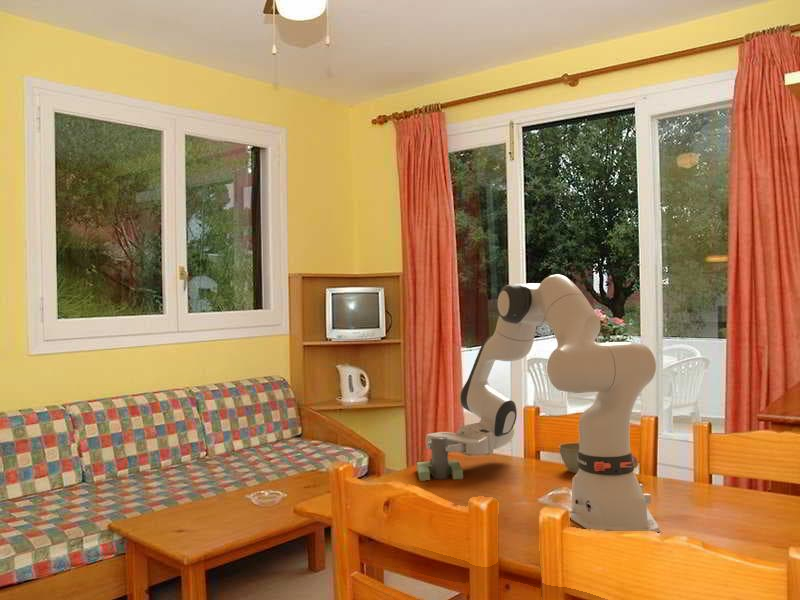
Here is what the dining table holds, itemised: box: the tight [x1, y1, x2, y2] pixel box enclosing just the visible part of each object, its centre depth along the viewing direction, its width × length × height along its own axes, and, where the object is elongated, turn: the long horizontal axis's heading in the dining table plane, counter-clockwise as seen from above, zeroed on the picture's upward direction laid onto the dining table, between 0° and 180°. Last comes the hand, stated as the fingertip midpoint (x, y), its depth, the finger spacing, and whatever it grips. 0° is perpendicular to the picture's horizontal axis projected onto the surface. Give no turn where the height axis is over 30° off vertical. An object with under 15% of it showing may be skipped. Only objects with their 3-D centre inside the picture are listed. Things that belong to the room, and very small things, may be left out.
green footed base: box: [416, 457, 464, 482], centre depth 205 cm, size 12×12×4 cm
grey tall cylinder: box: [431, 437, 450, 480], centre depth 202 cm, size 4×4×11 cm
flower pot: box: [558, 442, 580, 474], centre depth 204 cm, size 10×10×7 cm
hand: (437, 447), depth 202 cm, fingers open, 6 cm apart
